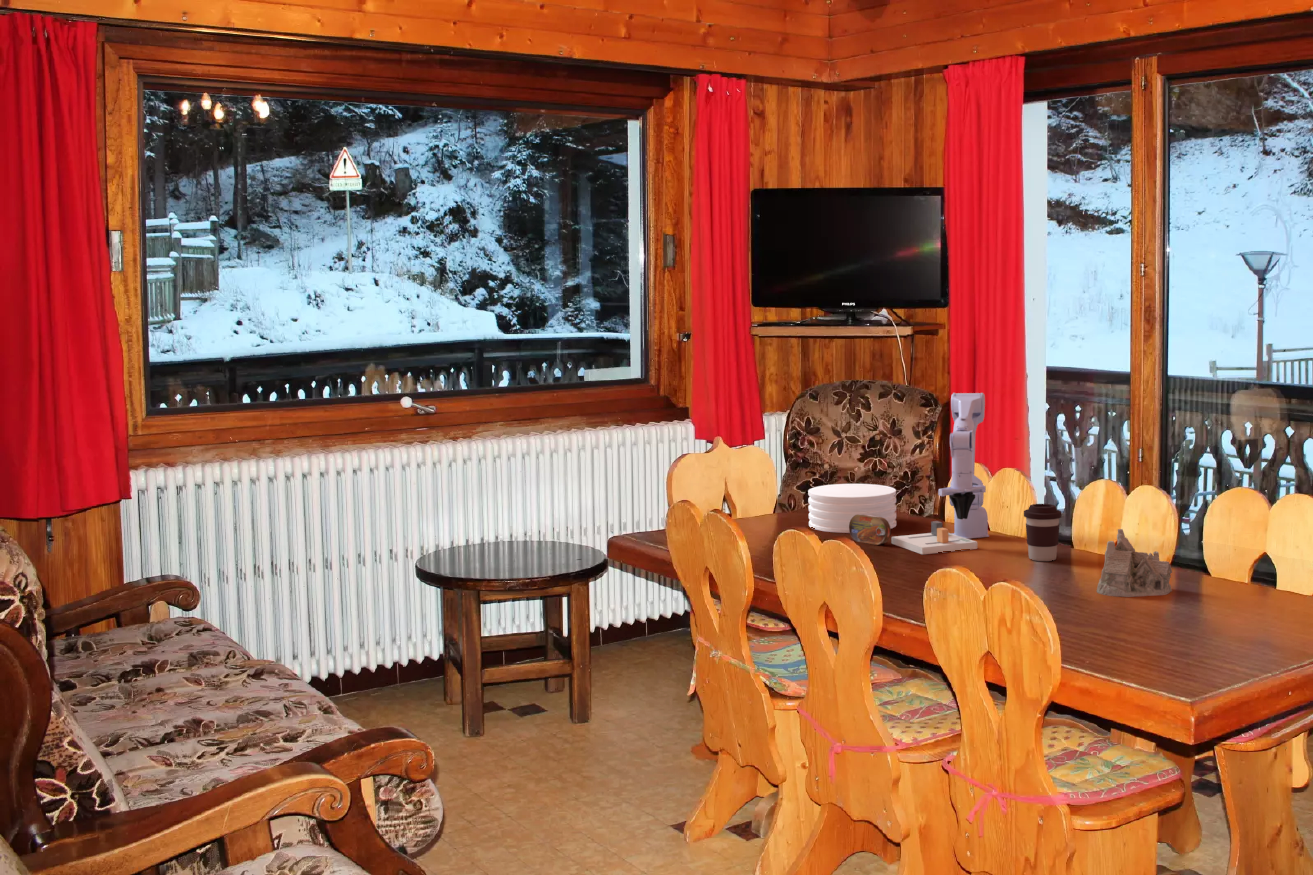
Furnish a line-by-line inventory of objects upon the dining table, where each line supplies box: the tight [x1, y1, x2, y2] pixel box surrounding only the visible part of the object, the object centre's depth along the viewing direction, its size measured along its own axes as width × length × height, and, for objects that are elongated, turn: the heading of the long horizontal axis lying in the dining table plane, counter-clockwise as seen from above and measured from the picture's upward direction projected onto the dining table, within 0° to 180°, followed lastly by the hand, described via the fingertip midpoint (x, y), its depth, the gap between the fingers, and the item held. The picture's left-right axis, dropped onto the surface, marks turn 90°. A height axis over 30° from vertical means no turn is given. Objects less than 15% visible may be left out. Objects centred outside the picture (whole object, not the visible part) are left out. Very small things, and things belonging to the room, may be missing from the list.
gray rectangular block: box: [930, 520, 943, 536], centre depth 380 cm, size 2×3×4 cm, turn 18°
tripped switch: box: [937, 527, 949, 543], centre depth 369 cm, size 2×3×4 cm, turn 18°
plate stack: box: [807, 483, 897, 534], centre depth 412 cm, size 28×28×12 cm
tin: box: [849, 515, 891, 546], centre depth 382 cm, size 15×3×8 cm, turn 37°
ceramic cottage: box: [1096, 528, 1173, 598], centre depth 312 cm, size 16×16×15 cm
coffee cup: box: [1023, 503, 1062, 562], centre depth 351 cm, size 10×10×15 cm
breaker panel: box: [890, 532, 978, 555], centre depth 374 cm, size 18×18×2 cm
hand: (962, 518), depth 370 cm, fingers closed
